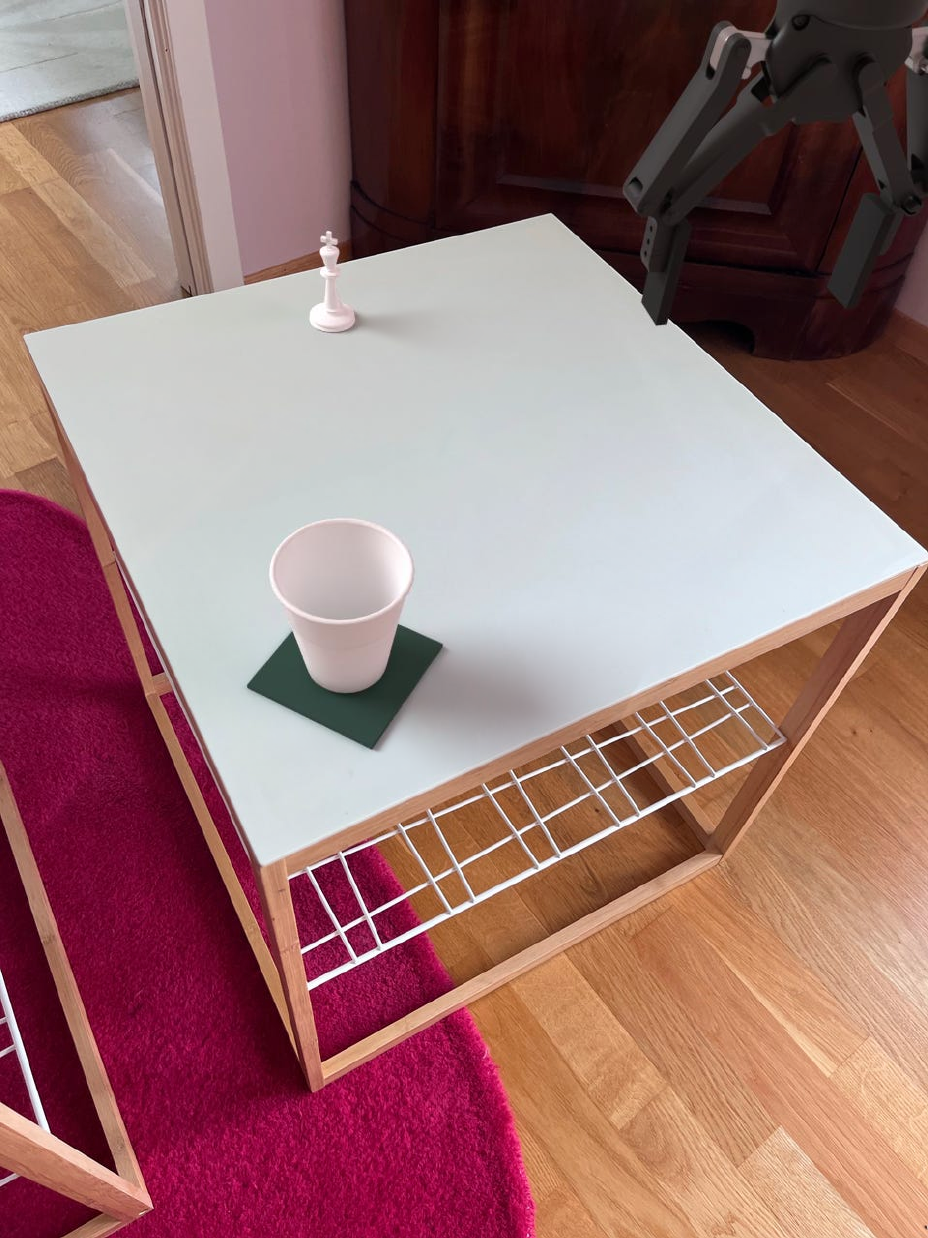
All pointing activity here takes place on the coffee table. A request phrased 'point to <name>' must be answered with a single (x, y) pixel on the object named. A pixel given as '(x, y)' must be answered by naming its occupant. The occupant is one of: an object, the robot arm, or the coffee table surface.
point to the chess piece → (331, 293)
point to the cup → (343, 597)
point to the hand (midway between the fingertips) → (749, 305)
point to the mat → (348, 712)
